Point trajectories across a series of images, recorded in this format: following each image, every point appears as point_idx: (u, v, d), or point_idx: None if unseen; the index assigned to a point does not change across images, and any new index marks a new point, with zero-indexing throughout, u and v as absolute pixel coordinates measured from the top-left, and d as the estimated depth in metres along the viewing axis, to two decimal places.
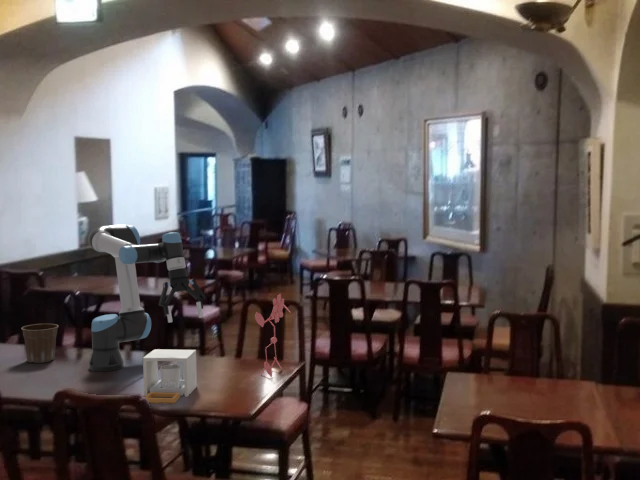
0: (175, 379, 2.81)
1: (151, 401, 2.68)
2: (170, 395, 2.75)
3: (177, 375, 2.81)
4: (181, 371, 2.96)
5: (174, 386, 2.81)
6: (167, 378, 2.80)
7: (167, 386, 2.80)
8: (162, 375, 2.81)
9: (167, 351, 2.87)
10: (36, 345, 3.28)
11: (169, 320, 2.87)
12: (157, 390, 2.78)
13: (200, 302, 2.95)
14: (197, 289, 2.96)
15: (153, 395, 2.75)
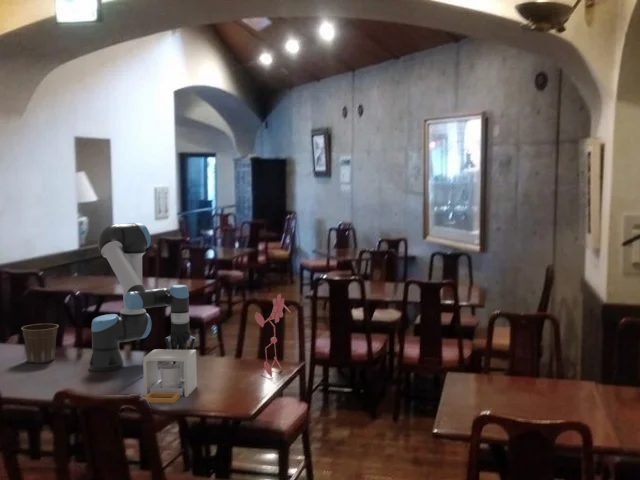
0: (175, 379, 2.81)
1: (151, 401, 2.68)
2: (170, 395, 2.75)
3: (177, 375, 2.81)
4: (181, 371, 2.96)
5: (174, 386, 2.81)
6: (167, 378, 2.80)
7: (167, 386, 2.80)
8: (162, 375, 2.81)
9: (167, 351, 2.87)
10: (36, 345, 3.28)
11: None
12: (157, 390, 2.78)
13: None
14: None
15: (153, 395, 2.75)
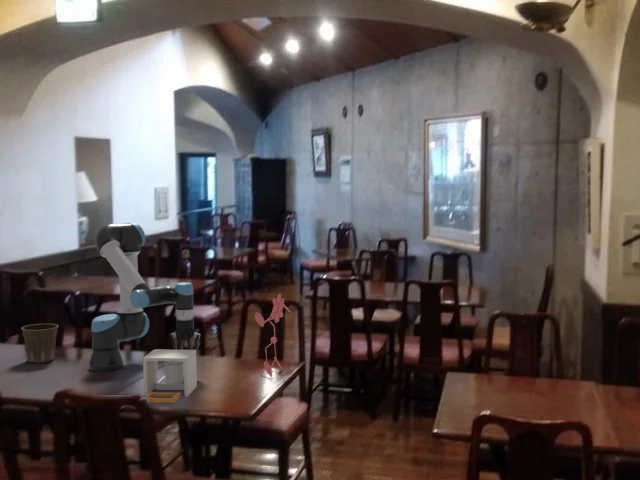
0: (179, 375, 2.86)
1: (151, 401, 2.68)
2: (170, 395, 2.75)
3: (181, 371, 2.87)
4: None
5: (178, 382, 2.86)
6: (171, 374, 2.85)
7: (171, 382, 2.86)
8: (166, 371, 2.86)
9: (167, 351, 2.87)
10: (36, 345, 3.28)
11: None
12: (163, 385, 2.85)
13: None
14: (194, 344, 3.04)
15: (153, 395, 2.75)
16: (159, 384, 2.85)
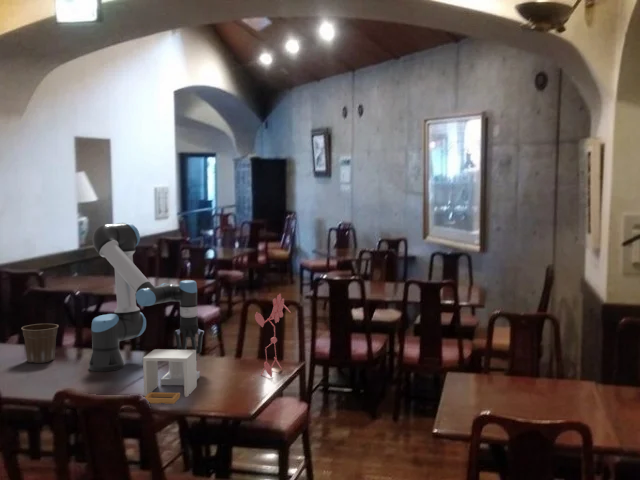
0: (183, 371, 2.93)
1: (151, 401, 2.68)
2: (170, 395, 2.75)
3: None
4: None
5: (182, 378, 2.93)
6: (175, 370, 2.91)
7: (175, 378, 2.92)
8: (170, 367, 2.92)
9: (167, 351, 2.87)
10: (36, 345, 3.28)
11: None
12: (167, 380, 2.91)
13: None
14: (198, 341, 3.10)
15: (153, 395, 2.75)
16: (164, 380, 2.91)
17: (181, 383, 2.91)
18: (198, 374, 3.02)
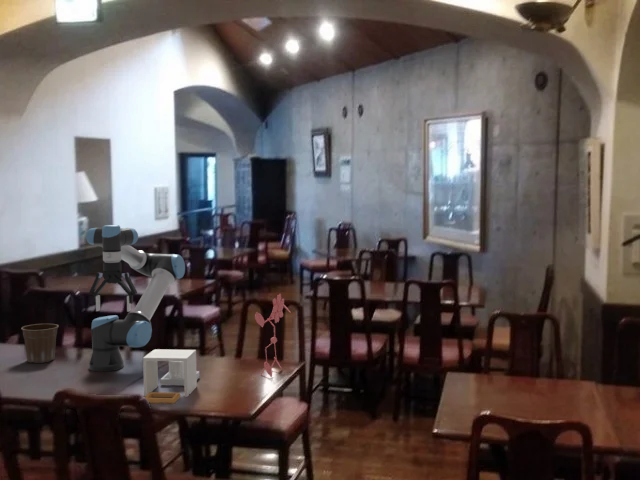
0: (183, 371, 2.92)
1: (151, 401, 2.68)
2: (170, 395, 2.75)
3: None
4: None
5: (182, 378, 2.93)
6: (175, 370, 2.91)
7: (175, 378, 2.92)
8: (170, 368, 2.92)
9: (167, 351, 2.87)
10: (36, 345, 3.28)
11: None
12: (167, 380, 2.91)
13: (128, 297, 3.01)
14: None
15: (153, 395, 2.75)
16: (164, 380, 2.91)
17: (181, 383, 2.91)
18: (198, 374, 3.01)
